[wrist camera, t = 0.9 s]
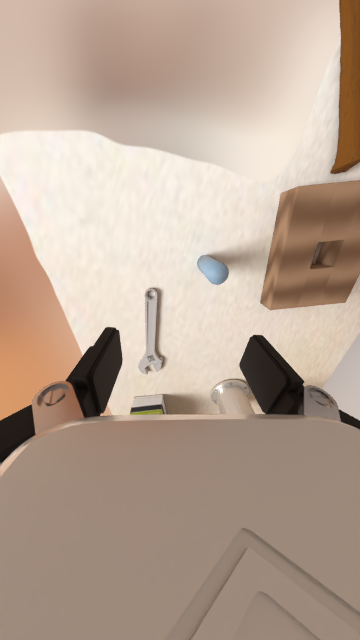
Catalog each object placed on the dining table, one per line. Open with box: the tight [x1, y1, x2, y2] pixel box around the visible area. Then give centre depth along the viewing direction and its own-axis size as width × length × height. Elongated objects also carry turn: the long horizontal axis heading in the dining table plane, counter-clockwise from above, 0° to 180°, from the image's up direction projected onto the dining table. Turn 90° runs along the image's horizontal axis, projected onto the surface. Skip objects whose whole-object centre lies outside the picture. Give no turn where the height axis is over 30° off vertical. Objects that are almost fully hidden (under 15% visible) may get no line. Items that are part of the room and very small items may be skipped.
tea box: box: [130, 394, 167, 415], centre depth 47 cm, size 15×10×15 cm
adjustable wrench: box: [139, 288, 163, 374], centre depth 38 cm, size 25×6×2 cm, turn 169°
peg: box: [197, 255, 229, 285], centre depth 26 cm, size 3×3×10 cm
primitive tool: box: [331, 0, 360, 174], centre depth 19 cm, size 19×6×4 cm, turn 21°
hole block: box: [260, 180, 360, 310], centre depth 29 cm, size 20×16×4 cm
